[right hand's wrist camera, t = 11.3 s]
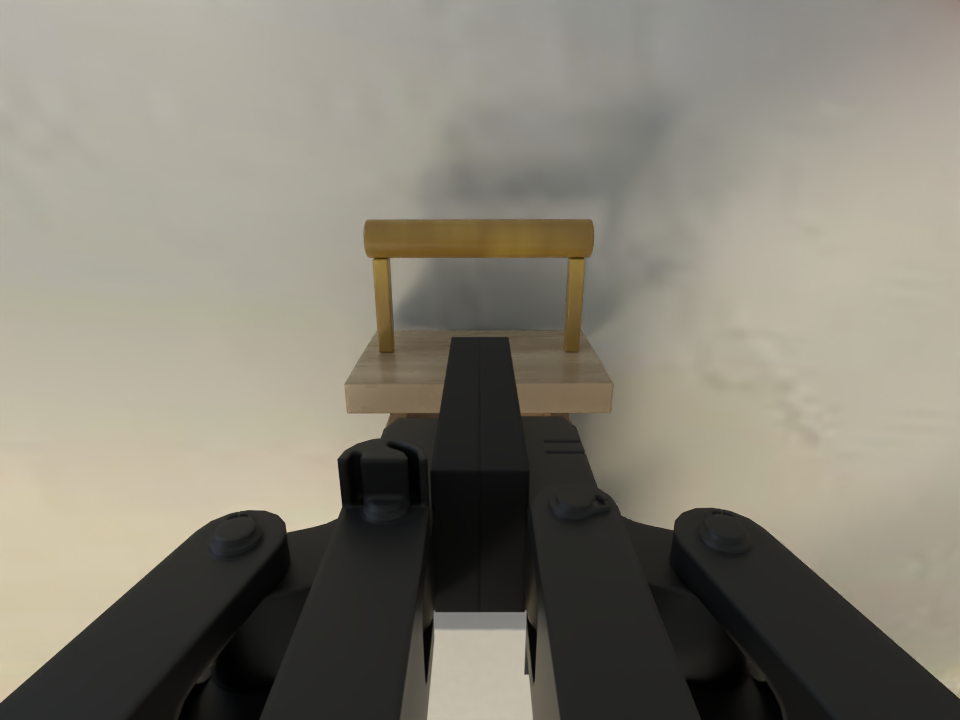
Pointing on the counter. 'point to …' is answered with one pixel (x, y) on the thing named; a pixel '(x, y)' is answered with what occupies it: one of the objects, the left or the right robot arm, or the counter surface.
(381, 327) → the drawer
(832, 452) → the counter surface
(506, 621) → the cabinet
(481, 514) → the right robot arm
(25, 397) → the counter surface
